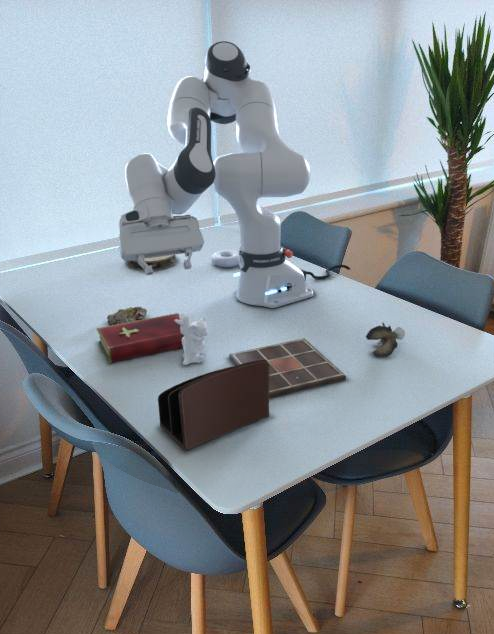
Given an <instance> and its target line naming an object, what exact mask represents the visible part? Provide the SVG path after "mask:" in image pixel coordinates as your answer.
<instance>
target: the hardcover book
mask: <svg viewBox="0 0 494 634" xmlns="http://www.w3.org/2000/svg"><path fill="white" fill-rule="evenodd" d="M180 315H181V314H180V313H179V312H176V313H170V314H165V315H160V316H155V317H149V318H144V319H143V320H138V321H133V322H128V323H122V324H117V325H113V324H111V325H107V326H101V327H97V328H96V332H97V333H98V335H99V340H98V344H99V346H100V348H101V350H102V351H103V354H104V355H105V357H106V359H107V361H108V363H109V364H113V363H118V362H123V361H127V360H132V359H138V358H141V357H147V356H152V355H156V354H160V353H165V352H169V351H170V352H171V351H175V350H180V349H183V345H182V338H183V337H184V335H183V334H181V332H180V326H181V325H179V324H177V323H176V322H175V320H176V319H178V320H180V317H179V316H180Z"/></svg>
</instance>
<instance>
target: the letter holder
mask: <svg viewBox="0 0 494 634" xmlns="http://www.w3.org/2000/svg"><path fill="white" fill-rule="evenodd" d="M157 406H158V415H159V416H158V417H159V427H160V428H161V429H162V430H163V431H164V432H165V433H166V434H167V435H168V436H169V437H170V438H171V439H172V440H173V441H174V442H175V443H176V444H177V445H178V446H179V447H180V448H181V449H183V450H184V451H185V452H186V451H189V450H190V449H194V448H196V447H198V446H201V445H202V444H205V443H207V442H210V441H212V440H215V439H218V438H220V437H223V436H225V435H227V434H230V433H232V432H235V431H237V430H240V429H242V428H245V427H248V426H250V425H252V424H255V423H257V422H260V421H262V420H265V419H267V418H269V417H270V398H269V363H268V362H267V360H265V359H263V360H257V361H251V362H247V363H243V364H240V365H236V366H235V365H232V366H228V367H223V368H221V369H217V370H213V371H210V372H207V373H203V374H201V375H197V376H195V377H192V378H189V379H186V380H185V381H183V382H180V383H177V384H175V385H173V386H171V387H169V388H167V389H166V390H164V391H162V392H161V393H159V395H158V396H157Z"/></svg>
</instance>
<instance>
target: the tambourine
mask: <svg viewBox="0 0 494 634" xmlns="http://www.w3.org/2000/svg"><path fill="white" fill-rule="evenodd" d="M176 258H177V257H176V254H175V255H168V256H160V257H153V258H146V259H144V261H145V263H146V264H147V265H152V269H153V271H156V270H157V271H158V270H162V269H163V270H164V269H167V268H169V267H171V266H173V265H175V263H176ZM126 264H127V266H128V267H129V268H131V269H134V270H139V271H145V269H143V268H142V267H141V266H140V265H139V264H138V261H137V260H131V261H126Z"/></svg>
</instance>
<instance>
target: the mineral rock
mask: <svg viewBox="0 0 494 634" xmlns="http://www.w3.org/2000/svg"><path fill="white" fill-rule="evenodd" d="M147 313H148V310H147V309H146V308H144V307H142V306H135V307H132V306H130V307H128V308H120V309H118V310H117V311H116V312H114V313H112V314H108V315H107V317H106V320H107V323H108V325H117V324H122V323H128V322H133V321H138V320H144V319H146V316H147Z"/></svg>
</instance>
